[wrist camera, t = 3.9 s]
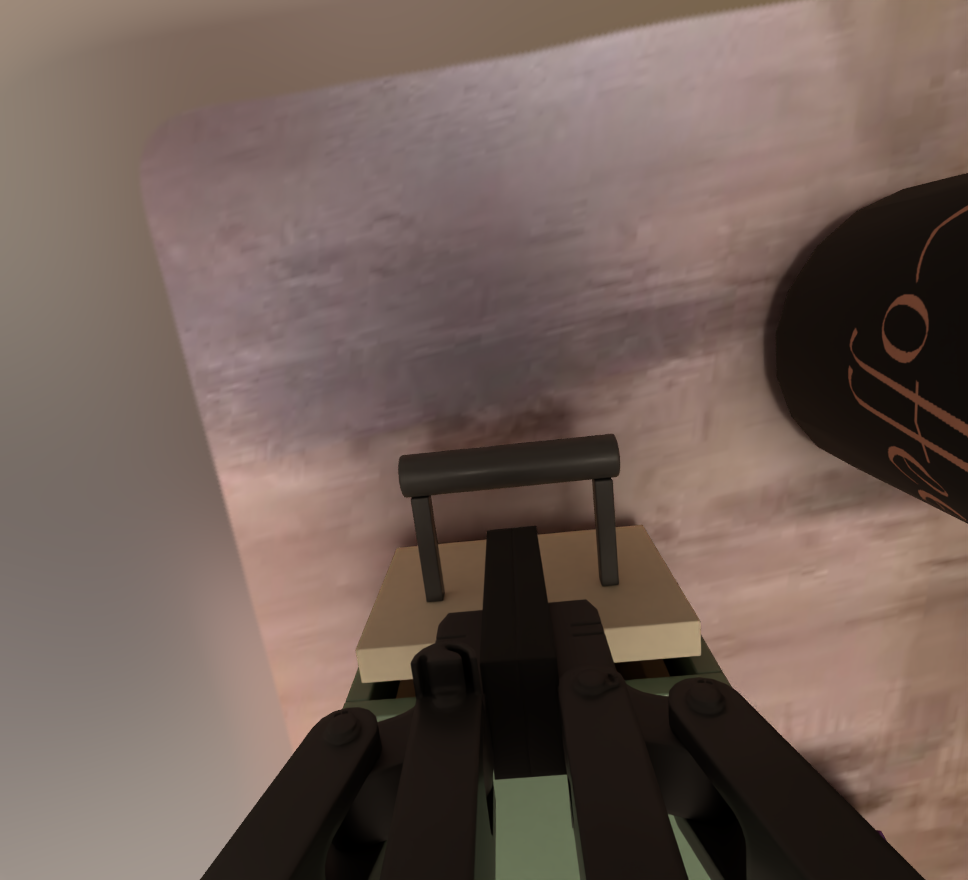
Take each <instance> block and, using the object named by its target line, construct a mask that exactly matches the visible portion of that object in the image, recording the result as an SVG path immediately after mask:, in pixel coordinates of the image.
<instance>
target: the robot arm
mask: <svg viewBox="0 0 968 880" xmlns="http://www.w3.org/2000/svg"><path fill="white" fill-rule="evenodd" d="M410 665H411V671H412V677H413V683H414V689H415V695H416V703H415V706H414V707H413V708H411V709H409V710H408V711H406V712H404V713H402V714H400V715H397V716H395V717H392V718H389V719H386V720H382V721H379V722H377V718H376V715H374V714H373V713H372V712H371V711H370V710H368V709H364V708H361V707H351V708H344V709H341V710H338V711H334V712H332V713H331V714H329V715H327V716H325V717H324V718H322V719H321V720H320V721H319V722H318V723H317V724H316V725H315V726H314V727H313V728H312V729H311V731H310V732H309V733H308V735H307V736H306V737H305V739H304V740H303V741H302V743H301V744H300V745H299V747H298V748H297V749H296V751H295V752H294V753H293V755H292V756H291V758H290V759H289V760H288V762H287V763H286V764H285V766H284V767H283V769H282V770H281V771H280V773H279V774H278V775H277V776H276V778H275V779H274V781H273V782H272V783H271V785H270V786H269V787H268V789H267V790H266V791H265V793H264V794H263V795H262V797H261V798H260V799H259V801H258V802H257V804H256V805H255V806H254V807H253V809H252V810H251V812H250V813H249V814H248V816H247V817H246V818H245V820H244V821H243V822H242V824H241V825H240V826H239V828H238V829H237V830H236V832H235V833H234V834H233V836H232V837H231V839H230V840H229V841H228V843H227V844H226V845H225V847H224V848H223V849H222V851H221V852H220V854H219V855H218V856H217V858H216V859H215V860H214V861H213V863H212V864H211V866H210V867H209V868H208V870H207V871H206V872H205V874H204V875H203V877H202V878H201V879H200V880H496V798H495V791H494V783H493V770H494V777H495V780H500V779H514V778H528V777H541V776H555V775H567V780H568V791H569V801H570V811H571V822H572V828H573V829H574V837H575V844H576V852H577V859H578V867H579V874H580V880H689V879H688V875H687V872H686V869H685V866H684V863H683V860H682V857H681V853H680V850H679V847H678V844H677V841H676V838H675V835H674V832H673V828H672V825H671V822H670V819H669V816H668V814H669V815H674V818H675V821H676V823H677V826H678V828H679V829H680V831H681V832H682V834H683V836H684V837H685V839H686V840H687V842H688V844H689V845H690V847H691V849H692V850H693V852H694V853H695V855H696V857H697V858H698V860H699V861H700V863H701V865H702V866H703V868H704V869H705V871H706V873H707V874H708V876H709V877H710V879H711V880H925V879H924V878H923V877H922V876H921V875H920V874H919V873H918V872H917V871H916V870H915V869H914V868H913V867H912V866H911V865H910V864H909V863H908V862H907V861H906V860H905V859H904V858H903V857H902V856H901V855H900V854H899V853H898V852H897V851H896V850H895V849H894V848H893V847H892V846H891V845H890V844H889V843H888V842H887V841H886V840H885V839H884V838H883V837H882V836H881V835H880V834H879V833H878V832H877V831H876V830H875V829H874V828H873V827H872V826H871V825H870V824H869V823H868V822H867V821H866V820H865V819H864V818H863V817H862V816H861V815H860V814H859V813H858V812H857V811H856V810H855V809H854V808H853V807H852V806H851V805H850V804H849V803H848V802H847V801H846V800H845V799H844V798H843V797H842V796H841V795H840V794H839V793H838V792H837V791H836V790H835V789H834V788H833V787H832V786H831V785H830V784H829V783H828V782H827V781H826V780H825V779H824V778H823V777H822V776H821V775H820V774H819V773H818V772H817V771H816V770H815V769H814V768H813V767H812V766H811V765H810V764H809V763H808V762H807V761H806V760H805V759H804V758H803V757H802V756H801V755H800V754H799V753H798V752H797V751H796V750H795V749H794V748H793V747H792V746H791V745H790V744H789V743H788V742H787V741H786V740H785V739H784V738H783V737H782V736H781V735H780V734H779V733H778V732H777V731H776V730H775V729H774V728H773V727H772V726H771V725H770V724H769V723H768V722H767V721H766V720H765V719H764V718H763V717H762V716H761V715H760V714H759V713H758V712H757V711H756V710H755V709H754V708H753V707H752V706H751V705H750V704H749V703H748V702H747V701H746V700H745V699H744V698H743V697H742V696H741V695H740V694H739V693H738V692H737V691H736V690H734V689H733V688H732V687H730V686H729V685H727V684H725V683H723V682H720V681H717V680H715V679H709V678H702V677H696V678H687V679H684V680H682V681H679V682H677V683H675V684H674V686H673V687H672V688H671V689H670V690H669V696H662V695H656V694H650V693H646V692H642V691H640V690H637V689H635V688H633V687H631V686H629V685H628V684H626V682H625V680H624V679H623V677H622V675H621V674H620V673H618V672H617V671H616V668H615V664H614V661H613V658H612V655H611V651H610V648H609V645H608V642H607V638H606V635H605V633H604V629H603V626H602V623H601V619H600V616H599V613H598V609H597V608H595V607H594V606H593V605H592V604H591V603H590V602H589V601H587V600H586V599H583V600H572V601H560V602H549V603H548V598H547V592H546V586H545V579H544V573H543V566H542V560H541V554H540V547H539V541H538V534H537V528H536V526H529V527H519V528H508V529H498V530H488V531H487V538H486V556H485V574H484V592H483V609H482V610H476V611H465V612H454V613H448V614H447V615H446V617H445V618H444V619H443V620H442V621H441V622H440V624H439V625H438V630H437V636H436V641H435V644H432V645H430V646H428V647H425V648H423V649H422V650H421V651H419V652H418V653H417V654H416V655H415V656H414V657H413V659H412V661H411V663H410Z"/></svg>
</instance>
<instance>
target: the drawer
mask: <svg viewBox="0 0 968 880" xmlns="http://www.w3.org/2000/svg"><path fill="white" fill-rule="evenodd" d="M619 473H620V455H619V448H618V443H617V440H616V437H615V435H614V434H605V435H595V436H586V437H576V438H566V439H557V440H547V441H537V442H528V443H518V444H508V445H499V446H489V447H479V448H470V449H460V450H450V451H441V452H431V453H421V454H412V455H403V456H401V457H400V459H399V465H398V474H399V483H400V488H401V492H402V494H403V496H404V497H406V498H409V497H412V498H411V505H412V511H413V518H414V524H415V531H416V537H417V543H418V546H413V547H403V548H397V549H396V552H395V554H394V557H393V559H392V561H391V564H390V566H389V569H388V571H387V574H386V576H385V579H384V581H383V584H382V586H381V589H380V591H379V594H378V596H377V599H376V601H375V603H374V606H373V608H372V611H371V613H370V616H369V618H368V621H367V623H366V626H365V628H364V631H363V633H362V636H361V638H360V640H359V643H358V645H357V648H356V656H357V661H358V666H359V671H360V676H361V682H362V683H371V682H383V681H395V680H400V684H399V687H398V691H397V695H396V698H408V697H416V695H415V689H414V683H413V677H412V671H411V665H410V663H411V661H412V659H413V657H414V656H415V655H416V654H417V653H418V652H419V651H421V650H422V649H423V648H425V647H428V646H430V645H432V644H435V641H436V636H437V630H438V625H439V624H440V622H441V621H442V620H443V619H444V618H445V617H446V615H447V614H448V613H454V612H465V611H476V610H482V609H483V592H484V574H485V556H486V540H477V541H466V542H456V543H445V544H438V541H437V534H436V527H435V520H434V513H433V506H432V500H431V495H439V494H449V493H460V492H470V491H480V490H490V489H500V488H510V487H520V486H530V485H540V484H550V483H560V482H570V481H580V480H590V479H592V487H593V500H594V514H595V528H596V529H593V530H583V531H572V532H562V533H551V534H540V535H538V541H539V547H540V554H541V560H542V566H543V573H544V579H545V586H546V592H547V598H548V603H549V602H560V601H572V600H583V599H586V600H587V601H589V602H590V603H591V604H592V605H593V606H594V607H595V608H597V609H598V613H599V616H600V619H601V623H602V626H603V629H604V633H605V635H606V638H607V642H608V645H609V648H610V651H611V655H612V658H613V661H614V664H615V668H616V671H617V672H618V673H620V674H621V675H622V677H623V679H624V680H634V679H646V678H659V677H670V675H669V672H668V670H667V668H666V665H665V663H664V661H663V659H665V658H678V657H690V656H700V655H701V629H700V620H699V618H698V617H697V615H696V613H695V612H694V610H693V608H692V607H691V605H690V603H689V602H688V600H687V598H686V597H685V595H684V593H683V592H682V590H681V588H680V587H679V585H678V583H677V582H676V580H675V578H674V577H673V575H672V573H671V572H670V570H669V568H668V567H667V565H666V563H665V562H664V560H663V558H662V557H661V555H660V553H659V552H658V550H657V548H656V547H655V545H654V543H653V542H652V540H651V538H650V537H649V535H648V533H647V532H646V530H645V528H644V527H643V525H636V526H625V527H616V526H615V510H614V494H613V480H612V479H611V477H617V476H619Z"/></svg>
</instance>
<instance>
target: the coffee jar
mask: <svg viewBox="0 0 968 880" xmlns="http://www.w3.org/2000/svg"><path fill="white" fill-rule="evenodd" d="M776 367H777V378H778V381H779V384H780V386H781V389H782V392H783V394H784V397H785V400H786V403H787V405H788V408H789V411H790V413H791V416H792V417H793V419H794V420H795V421H796V422H797V423H798V424H799V426H800V427H801V428H802V429H803V430H804V431H805V432H806V434H807V435H808V436H809V437H810V438H811V439H812V441H813V442H814V443H815V444H816V445H817V446H818V447H819V448H821V449H823V450H825V451H826V452H828V453H830V454H832V455H834V456H836V457H837V458H839V459H841V460H843V461H845V462H846V463H848V464H850V465H852V466H854V467H856V468H858V469H860V470H862V471H864V472H866V473H868V474H870V475H872V476H874V477H876V478H878V479H880V480H882V481H884V482H886V483H888V484H890V485H892V486H894V487H896V488H898V489H900V490H902V491H904V492H906V493H908V494H910V495H912V496H914V497H916V498H918V499H920V500H922V501H924V502H926V503H928V504H930V505H932V506H934V507H936V508H938V509H940V510H942V511H944V512H946V513H948V514H950V515H952V516H954V517H956V518H958V519H960V520H962V521H964V522H966V523H968V173H966V174H962V175H958V176H954V177H950V178H946V179H942V180H938V181H934V182H930V183H926V184H922V185H918V186H914V187H910V188H906V189H903V190H901V191H899V192H896V193H894V194H892V195H890V196H888V197H886V198H884V199H882V200H880V201H878V202H876V203H874V204H871V205H869V206H867V207H865V208H863V209H861V210H859V211H857V212H856V213H854V214H853V215H852V216H851V217H850V218H849V219H848V220H847V221H845V222H844V223H843V224H842V225H841V226H840V227H839V228H837V229H836V230H835V231H834V232H833V233H832V234H831V235H830V236H828V237H827V238H826V239H825V240H824V241H823V242H822V243H820V244H819V245H818V246H817V248H816V249H815V250H814V252H813V253H812V255H811V256H810V258H809V260H808V261H807V263H806V264H805V266H804V267H803V269H802V270H801V272H800V273H799V275H798V277H797V278H796V280H795V281H794V283H793V284H792V286H791V287H790V289H789V291H788V294H787V298H786V301H785V304H784V308H783V311H782V314H781V318H780V321H779V324H778V328H777V331H776Z"/></svg>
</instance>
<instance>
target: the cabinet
mask: <svg viewBox="0 0 968 880" xmlns="http://www.w3.org/2000/svg"><path fill="white" fill-rule="evenodd" d="M663 661H664V663H665V665H666V668H667V670H668V672H669V675H670V677H659V678H646V679H634V680H625V682H626V684H628V685H629V686H631V687H633V688H635V689H637V690H640V691H642V692H646V693H650V694H656V695H662V696H669V690H670V689H671V688H672V687H673V686H674V684H675V683H677V682H679V681H682V680H684V679H687V678H696V677H702V678H709V679H715V680H717V681H720V682H723V683H725V684H727V685H729V686H730V687H731V685H730V683H729V682H728V680H727V678H726V676H725V675H724V673H723V672H722V670H721V668H720V666H719V665H718V663H717V661H716V660H715V658H714V656H713V654H712V653H711V651H710V649H709V647H708V646H707V644H706V642H705V641H704V639H703V637H702V635H701V655H700V656H690V657H678V658H665V659H663ZM399 684H400V680H395V681H383V682H371V683H362V682H361V676H360V671H359V667H358V670H357V673H356V675H355V678H354V681H353V683H352V686H351V688H350V691H349V694H348V696H347V699H346V703H345V704H344V706H343V709H344V708H351V707H361V708H364V709H368V710H370V711H371V712H372V713H373V714H374V715H376V718H377V722H379V721H382V720H386V719H389V718H392V717H395V716H397V715H400V714H402V713H404V712H406V711H408V710H409V709H411V708H413V707H414V706H415V703H416V697H408V698H396V695H397V691H398V687H399ZM493 783H494V791H495V798H496V880H580V874H579V867H578V859H577V852H576V844H575V837H574V829H573V828H572V822H571V811H570V801H569V791H568V780H567V775H555V776H541V777H528V778H514V779H500V780H495V777H494V770H493ZM668 816H669V819H670V822H671V825H672V828H673V832H674V835H675V838H676V841H677V844H678V847H679V850H680V853H681V857H682V860H683V863H684V866H685V869H686V872H687V875H688V879H689V880H711V879H710V877H709V876H708V874H707V873H706V871H705V869H704V868H703V866H702V865H701V863H700V861H699V860H698V858H697V857H696V855H695V853H694V852H693V850H692V849H691V847H690V845H689V844H688V842H687V840H686V839H685V837H684V836H683V834H682V832H681V831H680V829H679V828H678V826H677V823H676V821H675V818H674V815H669V814H668Z"/></svg>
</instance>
